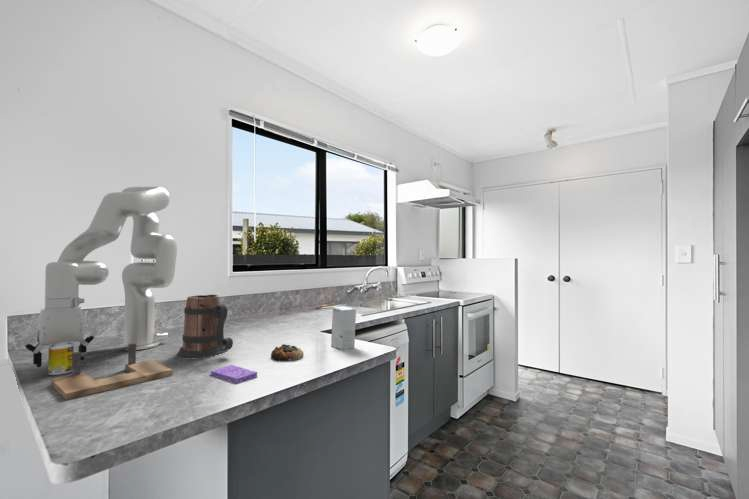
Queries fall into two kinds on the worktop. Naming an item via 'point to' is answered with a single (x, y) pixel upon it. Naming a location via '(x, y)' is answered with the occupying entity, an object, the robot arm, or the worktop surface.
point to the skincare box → (343, 327)
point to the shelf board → (85, 385)
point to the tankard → (204, 328)
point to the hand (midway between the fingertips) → (60, 362)
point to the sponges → (234, 373)
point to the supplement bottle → (60, 358)
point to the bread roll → (286, 353)
